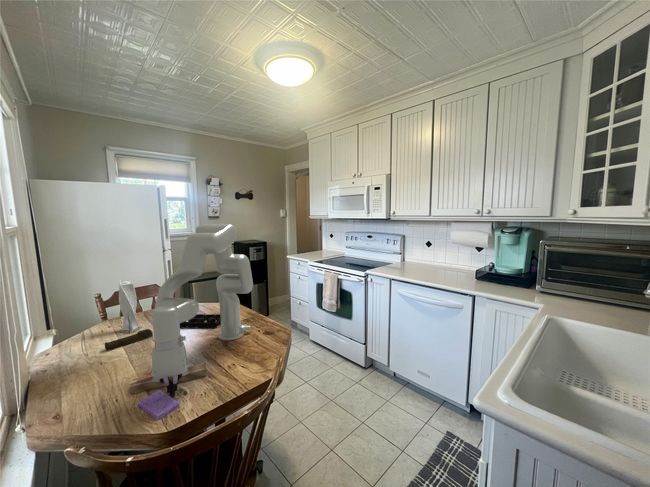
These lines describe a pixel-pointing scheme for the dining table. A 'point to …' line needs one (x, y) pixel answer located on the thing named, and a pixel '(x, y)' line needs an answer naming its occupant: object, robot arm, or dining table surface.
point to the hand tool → (129, 339)
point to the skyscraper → (128, 306)
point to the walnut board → (149, 384)
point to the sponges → (158, 404)
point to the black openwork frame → (202, 321)
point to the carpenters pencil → (142, 379)
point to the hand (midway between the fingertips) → (172, 393)
